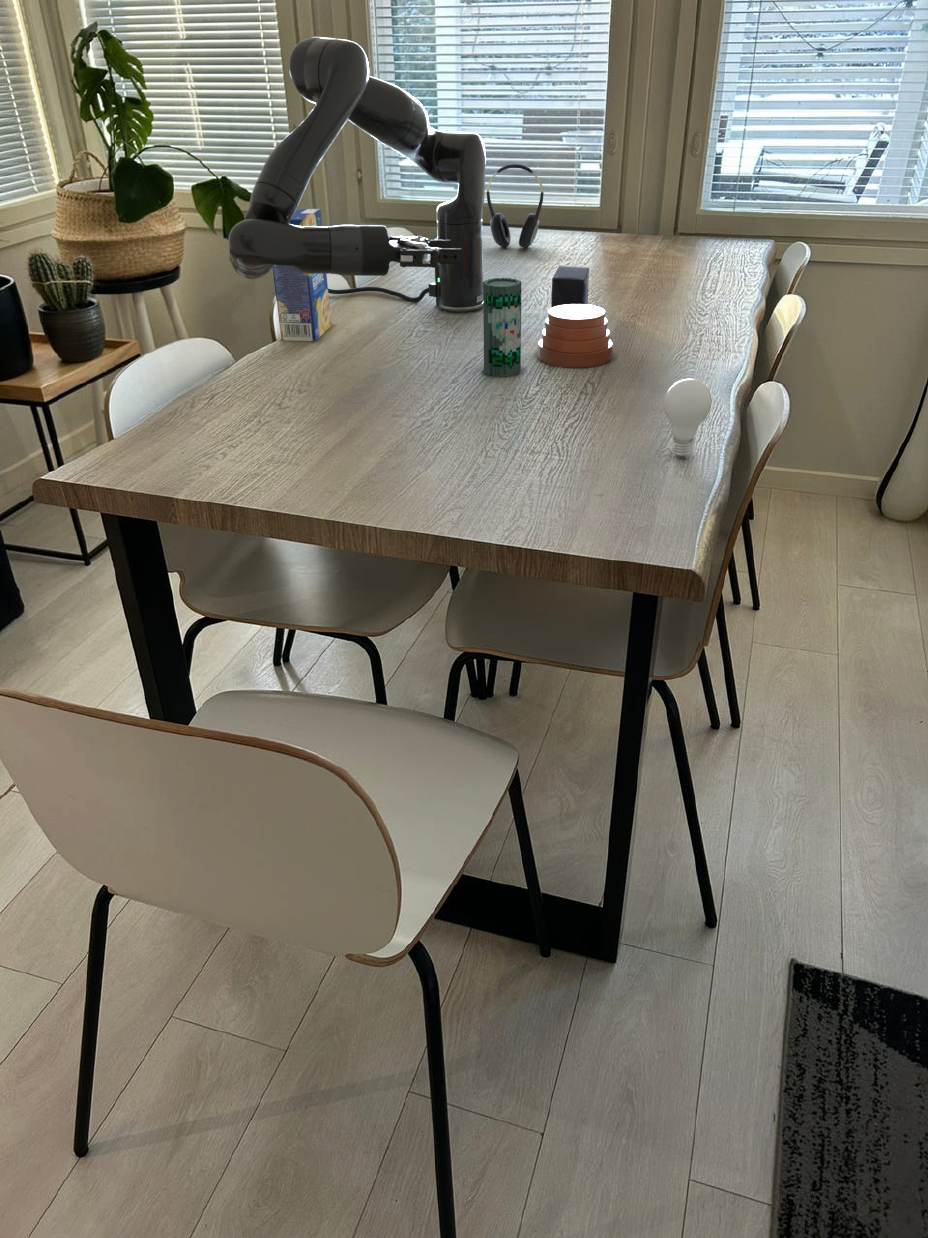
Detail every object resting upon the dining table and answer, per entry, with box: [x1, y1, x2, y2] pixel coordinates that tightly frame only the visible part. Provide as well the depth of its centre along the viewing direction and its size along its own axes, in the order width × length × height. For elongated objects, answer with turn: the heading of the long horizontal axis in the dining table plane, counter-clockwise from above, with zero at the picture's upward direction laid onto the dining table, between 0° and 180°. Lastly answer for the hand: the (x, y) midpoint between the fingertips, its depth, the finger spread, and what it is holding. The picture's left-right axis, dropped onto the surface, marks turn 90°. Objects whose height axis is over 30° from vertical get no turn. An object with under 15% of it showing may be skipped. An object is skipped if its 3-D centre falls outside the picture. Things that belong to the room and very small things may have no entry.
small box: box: [550, 265, 590, 309], centre depth 188 cm, size 11×6×10 cm, turn 168°
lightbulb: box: [663, 378, 713, 458], centre depth 133 cm, size 6×6×11 cm
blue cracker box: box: [271, 208, 332, 342], centre depth 186 cm, size 7×11×22 cm, turn 170°
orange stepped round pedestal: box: [537, 304, 613, 369], centre depth 173 cm, size 13×13×8 cm
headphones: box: [486, 163, 545, 249], centre depth 249 cm, size 9×15×20 cm, turn 77°
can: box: [482, 277, 522, 378], centre depth 165 cm, size 6×6×15 cm
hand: (456, 251), depth 158 cm, fingers open, 8 cm apart
